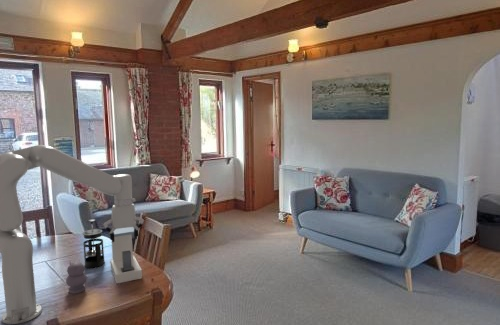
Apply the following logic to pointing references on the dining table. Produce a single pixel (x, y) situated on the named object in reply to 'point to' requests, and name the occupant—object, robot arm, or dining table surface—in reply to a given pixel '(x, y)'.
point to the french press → (93, 256)
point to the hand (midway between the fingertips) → (124, 239)
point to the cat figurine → (76, 277)
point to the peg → (126, 261)
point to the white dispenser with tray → (118, 246)
